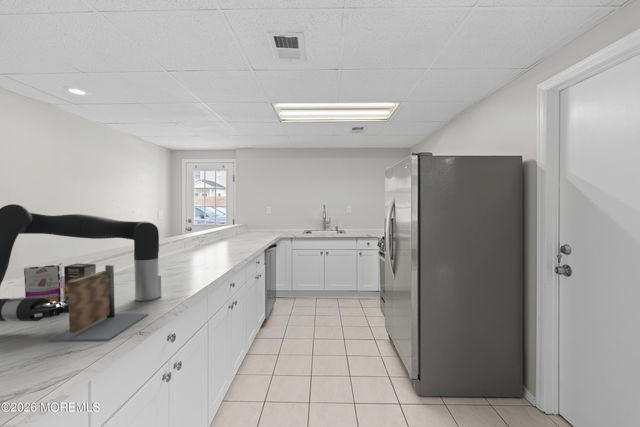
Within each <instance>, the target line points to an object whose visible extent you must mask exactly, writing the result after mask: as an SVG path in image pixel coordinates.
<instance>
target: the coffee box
mask: <svg viewBox="0 0 640 427" xmlns="http://www.w3.org/2000/svg"><path fill="white" fill-rule="evenodd" d="M96 267H97V266H96V263H73V264H68V265H66V266H63V269H64V270H63V271H64V272H63V273H64V274H63V275H64V279H65V298H64V300H66V299H67V300H69V297H68V287H67V282H69V281H72V280H76V279H79V278H82V277H85V276H89V275H92V274H95V273H97V271H96V270H97V268H96Z"/></svg>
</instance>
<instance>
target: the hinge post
mask: <svg viewBox="0 0 640 427" xmlns="http://www.w3.org/2000/svg"><path fill="white" fill-rule="evenodd" d="M104 268H105V270H104V271H109V274H110V275H109V307H110V315H108V316H107V318H111V317H114V316H115V314H116V313H115V312H116V310H115V304H116V303H115V276H114V275H115V274H114V264H106V265H105V266H104Z"/></svg>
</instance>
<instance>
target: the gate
mask: <svg viewBox="0 0 640 427" xmlns="http://www.w3.org/2000/svg"><path fill="white" fill-rule="evenodd" d="M109 275H110V274H109V271H105V270H102V271H98V272H96V273H95V274H92V275H89V276H85V277H82V278H79V279H76V280H72V281H69V282H67V287H68V297H69V313H68V322H69V323H68V324H69V326H68V327H69V328H68V329H70V333H75V332H77V331H79V330H81V329H83V328H85V327H87V326H89V325H91V324H92V323H94V322H96V321H98V320H100V319H102V318H104V317H106V316H108V315H110V307H109Z"/></svg>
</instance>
